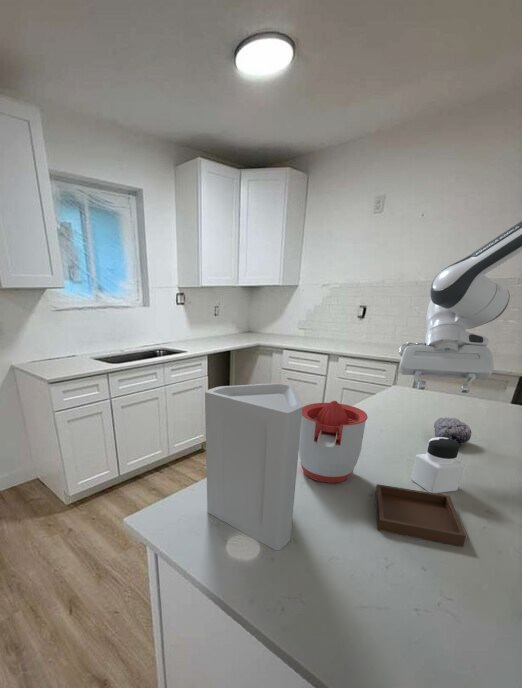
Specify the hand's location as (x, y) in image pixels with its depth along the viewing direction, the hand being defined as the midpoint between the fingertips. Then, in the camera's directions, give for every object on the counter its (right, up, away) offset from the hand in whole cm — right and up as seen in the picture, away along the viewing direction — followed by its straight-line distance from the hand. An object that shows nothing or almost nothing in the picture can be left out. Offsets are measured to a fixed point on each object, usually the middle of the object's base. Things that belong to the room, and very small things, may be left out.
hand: (442, 390), depth 91 cm
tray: (-16, -29, -14) cm, 36 cm away
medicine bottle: (-4, -24, -2) cm, 24 cm away
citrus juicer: (-28, -22, +4) cm, 36 cm away
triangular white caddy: (-48, -29, -11) cm, 57 cm away
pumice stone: (+14, -14, +19) cm, 28 cm away
